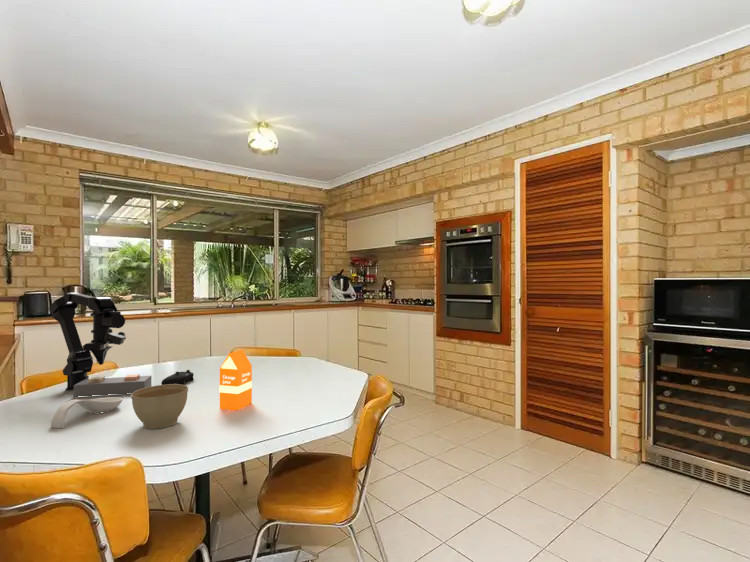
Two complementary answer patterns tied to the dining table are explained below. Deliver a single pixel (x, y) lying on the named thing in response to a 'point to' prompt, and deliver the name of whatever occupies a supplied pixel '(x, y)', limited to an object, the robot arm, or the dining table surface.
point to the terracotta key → (131, 377)
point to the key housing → (111, 386)
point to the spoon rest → (90, 405)
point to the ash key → (96, 379)
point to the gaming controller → (178, 378)
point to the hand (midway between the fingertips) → (101, 364)
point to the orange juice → (235, 381)
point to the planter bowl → (159, 404)
